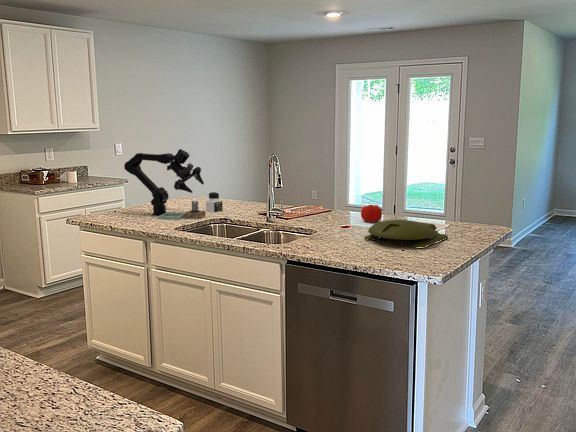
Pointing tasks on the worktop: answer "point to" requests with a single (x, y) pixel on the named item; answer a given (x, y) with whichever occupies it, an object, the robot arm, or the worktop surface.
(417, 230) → the olive green domed shape
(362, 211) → the tomato
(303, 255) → the worktop surface
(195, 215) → the socket block
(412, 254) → the worktop surface
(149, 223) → the worktop surface
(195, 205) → the stop pin
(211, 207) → the medicine bottle
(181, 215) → the tray
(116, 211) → the worktop surface
